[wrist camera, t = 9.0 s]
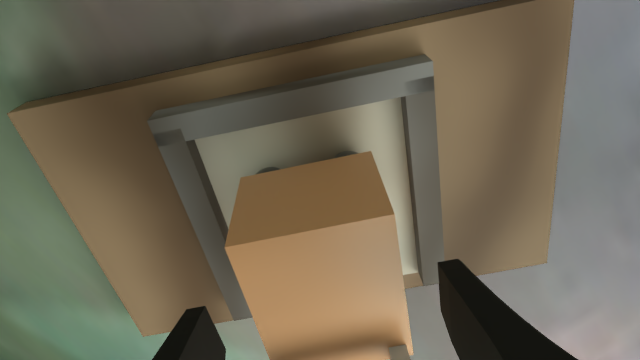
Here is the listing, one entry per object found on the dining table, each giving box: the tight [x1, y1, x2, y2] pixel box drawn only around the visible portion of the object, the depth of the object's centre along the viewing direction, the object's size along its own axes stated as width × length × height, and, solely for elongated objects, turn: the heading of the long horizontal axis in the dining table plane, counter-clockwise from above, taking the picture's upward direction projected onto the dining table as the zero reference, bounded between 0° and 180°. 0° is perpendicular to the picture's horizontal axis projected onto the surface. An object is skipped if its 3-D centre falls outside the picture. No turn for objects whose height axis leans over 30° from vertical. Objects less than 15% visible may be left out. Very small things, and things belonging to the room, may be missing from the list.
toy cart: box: [224, 151, 413, 360], centre depth 15 cm, size 6×5×6 cm
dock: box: [7, 0, 574, 337], centre depth 17 cm, size 20×12×2 cm, turn 101°
